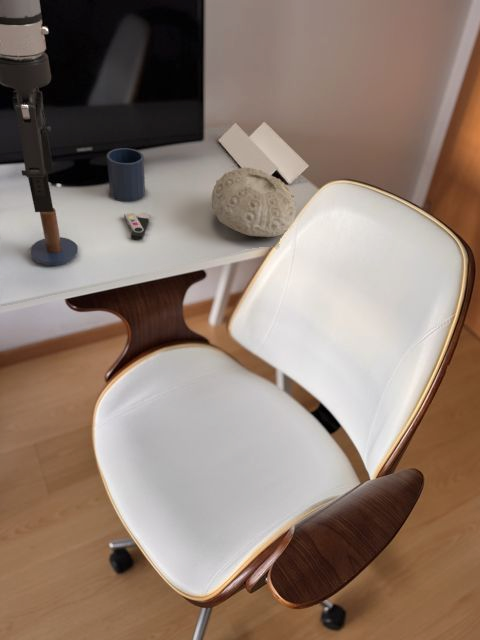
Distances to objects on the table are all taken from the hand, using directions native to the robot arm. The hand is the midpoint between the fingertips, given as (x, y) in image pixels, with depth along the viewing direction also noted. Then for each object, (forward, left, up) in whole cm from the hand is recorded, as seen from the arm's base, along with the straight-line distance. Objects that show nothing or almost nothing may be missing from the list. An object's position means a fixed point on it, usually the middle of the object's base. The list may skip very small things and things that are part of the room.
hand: (44, 189), depth 92 cm
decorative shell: (+39, +8, -13) cm, 42 cm away
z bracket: (+51, +37, -13) cm, 64 cm away
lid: (0, 0, -13) cm, 13 cm away
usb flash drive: (+15, +8, -13) cm, 21 cm away
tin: (+15, +22, -13) cm, 30 cm away
